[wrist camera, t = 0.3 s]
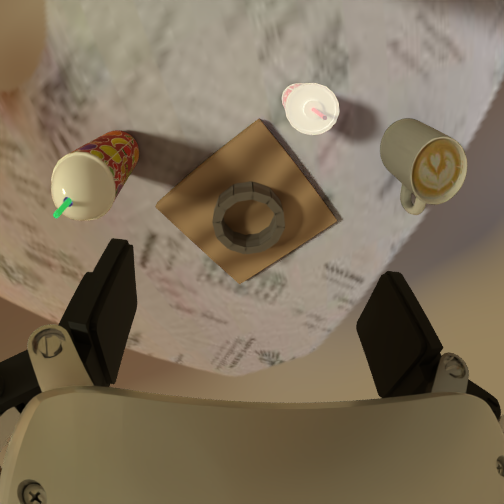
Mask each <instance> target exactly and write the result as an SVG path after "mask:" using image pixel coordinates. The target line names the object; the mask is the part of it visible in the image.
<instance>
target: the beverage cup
mask: <svg viewBox="0 0 504 504" xmlns="http://www.w3.org/2000/svg"><path fill="white" fill-rule="evenodd" d="M282 104H283V106H284V108H285V111H286V117H287V118H288V120H289V122H290V123H291V125H292V126H293V127H294V128H295V129H297V130H298V131H299V132H301V133H305V134H308V135H316V134H322V133H324V132H326V131H328V130H329V129H330V128H331V127H332V126H333V125H334V124H335V123H336V121H337V118H338V115H339V102H338V100H337V98H336V96H335V95H334V93H333V92H332V91H331V90H329V89H328V88H327V87H326V86H323V85H320V84H317V83H305V84H302V83H297V84H292V85H290V86H288V87H287V88H286V89H285V90H284V92H283V95H282Z"/></svg>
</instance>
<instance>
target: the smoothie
mask: <svg viewBox="0 0 504 504" xmlns="http://www.w3.org/2000/svg"><path fill="white" fill-rule="evenodd" d="M138 159H139V148H138V145H137V143H136V141H135V140H134V138H133V137H132V136H131V135H129V134H128V133H126V132H123V131H111V132H108V133H106V134H104V135H102V136H100V137H99V138H97V139H95V140H93V141H91V142H89V143H87V144H85V145H84V146H82V147H80V148H78V149H76V150H75V151H73V152H71V153H70V154H67V155H65V156H64V157H63V158H61V159H60V160H59V161H58V163H57V164H56V166H55V168H54V170H53V174H52V179H51V181H52V183H51V193H52V199H53V201H54V204H55V206H56V207H57V210H56V211H55V212H54V214H53V216H54V218H56V219H57V218H58V217H59V216H60V215H61V214H63V215H64V216H66V217H68V218H70V219H73V220H79V221H84V220H88V221H89V220H94V219H98V218H100V217H102V216H103V215H105V214H106V213H107V212H108V211H109V209H110V208H111V207H112V204H113V202H114V200H115V199H116V197H117V195H118V194H119V192H120V190H121V189H122V187H123V185H124V184H125V182H126V180H127V179H128V177H129V175H130V174H131V172H132V171H133V169H134V167H135V166H136V164H137V162H138Z"/></svg>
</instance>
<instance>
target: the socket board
mask: <svg viewBox="0 0 504 504" xmlns="http://www.w3.org/2000/svg"><path fill="white" fill-rule="evenodd" d="M155 207H156V208H157V209H158V210H159V211H160V212H161V213H162V214H163V215H165V216H166V217H167V218H168V219H169V220H170V221H171V222H172V223H173V224H174V225H175V226H176V227H177V228H178V229H180V230H181V231H182V232H183V233H184V234H185V235H186V236H187V237H188V238H189V239H190V240H191V241H193V242H194V243H195V244H196V245H197V246H198V247H199V248H200V249H201V250H202V251H203V252H205V253H206V254H207V255H208V256H209V257H210V258H211V259H212V260H213V261H214V262H216V263H217V264H218V265H219V266H220V267H221V268H222V269H223V270H224V271H225V272H227V273H228V274H229V275H230V276H231V277H232V278H233V279H234V280H235V281H237V282H238V283H239V284H241V283H242V282H244V281H246V280H247V279H249V278H250V277H252V276H253V275H255V274H256V273H258V272H260V271H261V270H263V269H264V268H266V267H267V266H269V265H271V264H272V263H274V262H275V261H277V260H278V259H280V258H281V257H283V256H285V255H286V254H288V253H289V252H291V251H292V250H294V249H295V248H297V247H298V246H300V245H301V244H303V243H305V242H306V241H308V240H309V239H311V238H312V237H314V236H315V235H317V234H318V233H320V232H321V231H323V230H324V229H326V228H327V227H329V226H330V225H332V224H334V223H335V222H337V220H336V218H335V216H334V215H333V213H332V212H331V211H330V209H329V208H328V206H327V205H326V204H325V202H324V201H323V199H322V198H321V197H320V195H319V194H318V193H317V191H316V190H315V189H314V187H313V186H312V185H311V183H310V182H309V181H308V179H307V178H306V177H305V175H304V174H303V173H302V171H301V170H300V169H299V167H298V166H297V165H296V164H295V162H294V161H293V160H292V158H291V157H290V156H289V155H288V153H287V152H286V151H285V149H284V148H283V147H282V146H281V144H280V143H279V142H278V141H277V139H276V138H275V137H274V136H273V135H272V133H271V132H270V131H269V130H268V128H267V127H266V126H265V125H264V124H263V122H262V121H261V120H260V119H258V120H256V121H255V122H254V123H252V124H251V125H250V126H249V127H247V128H246V129H245V130H243V131H242V132H241V133H239V134H238V135H237V136H236V137H234V138H233V139H232V140H230V141H229V142H228V143H227V144H225V145H224V146H223V147H222V148H220V149H219V150H218V151H217V152H215V153H214V154H213V155H212V156H211V157H209V158H208V159H207V160H206V161H204V162H203V163H202V164H201V165H200V166H198V167H197V168H196V169H195V170H194V171H193V172H191V173H190V174H189V175H188V176H187V177H186V178H184V179H183V180H182V181H181V182H180V183H179V184H177V185H176V186H175V187H174V188H173V189H172V190H171V191H170V192H168V193H167V194H166V195H165V196H164V197H163V198H162V199H161V200H159V201H158V202H157V204H156V206H155Z"/></svg>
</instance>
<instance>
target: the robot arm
mask: <svg viewBox="0 0 504 504" xmlns="http://www.w3.org/2000/svg"><path fill="white" fill-rule="evenodd" d="M136 309H137V294H136V282H135V268H134V251H133V245H129V243H128V241H127V240H123V239H114V238H113V239H111V241H110V242H109V244H108V246H107V247H106V249H105V251H104V253H103V254H102V256H101V258H100V260H99V261H98V263H97V265H96V267H95V269H94V271H93V272H87V273H86V274H85V275H84V277H83V278H82V280H81V282H80V284H79V286H78V288H77V289H76V291H75V293H74V295H73V297H72V299H71V301H70V303H69V305H68V307H67V309H66V311H65V313H64V315H63V317H62V319H61V321H60V323H59V325H50V324H49V325H45V326H42V327H40V328H38V329H36V330H35V331H34V332H33V333H32V334H31V336H30V338H29V340H28V344H27V347H28V350H26V351H24V352H21V353H19V354H17V355H15V356H13V357H11V358H9V359H6V360H4V361H2V362H0V451H1V450H2V448H3V447H4V446H5V445H6V444H7V443H8V442H7V441H6V440H7V439H8V438H9V437H10V436H11V435H12V436H11V439H10V441H9V445H8V448H7V451H6V455H5V459H4V463H3V467H2V468H1V466H0V504H504V415H502V416H501V417H500V415H501V409H500V405H499V403H498V400H497V399H496V398H495V397H493V396H492V395H491V394H489V393H488V392H487V391H485V390H483V389H482V388H481V387H479V386H478V385H476V384H474V383H473V382H472V381H470V380H469V379H468V377H469V370H468V367H467V365H466V363H465V362H464V361H463V360H462V358H460V357H459V356H458V355H456V354H454V353H444V354H443V355H442V356H441V354H440V352H441V350H442V349H443V346H442V344H441V342H440V340H439V338H438V336H437V335H436V333H435V331H434V329H433V327H432V326H431V323H430V322H429V320H428V318H427V316H426V314H425V313H424V311H423V309H422V307H421V306H420V304H419V302H418V301H417V299H416V297H415V295H414V293H413V292H412V290H411V288H410V287H409V285H408V284H407V282H406V280H405V279H404V277H403V275H402V274H401V273H399V272H392V271H387V272H386V273H385V274H383V275H381V277H380V279H379V281H378V283H377V285H376V287H375V289H374V291H373V293H372V295H371V297H370V299H369V300H368V303H367V304H366V306H365V308H364V310H363V312H362V314H361V316H360V318H359V319H358V321H357V325H356V329H357V332H358V335H359V338H360V341H361V344H362V346H363V350H364V352H365V355H366V358H367V361H368V364H369V367H370V370H371V373H372V376H373V379H374V383H375V386H376V389H377V392H378V395H379V396H380V397H382V398H381V399H370V400H356V401H340V402H314V403H270V402H268V403H267V402H241V401H225V400H212V399H200V398H191V397H182V396H172V395H164V394H156V393H149V392H141V391H135V390H128V389H120V388H112V387H109V386H110V384H115V382H116V379H117V375H118V370H119V367H120V364H121V360H122V356H123V353H124V349H125V346H126V342H127V339H128V335H129V332H130V329H131V325H132V322H133V319H134V316H135V312H136Z"/></svg>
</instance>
